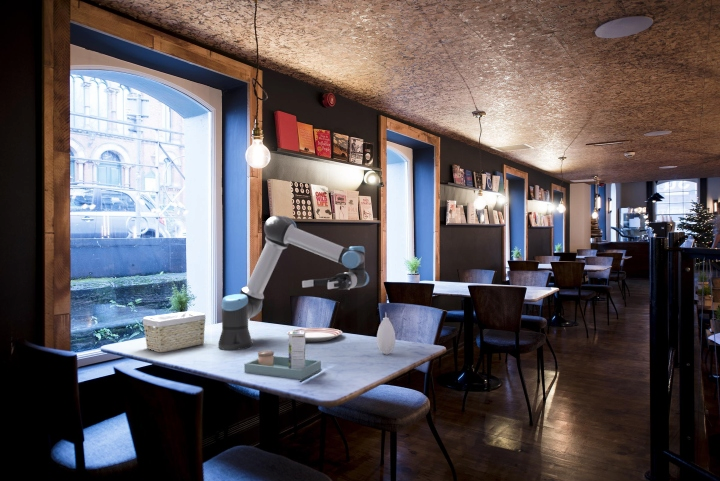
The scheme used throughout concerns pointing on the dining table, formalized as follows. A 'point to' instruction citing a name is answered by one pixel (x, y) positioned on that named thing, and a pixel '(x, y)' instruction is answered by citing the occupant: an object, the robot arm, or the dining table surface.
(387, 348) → the air blower bulb
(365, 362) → the dining table surface
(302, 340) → the syrup box
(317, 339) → the dinner plate
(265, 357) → the jar
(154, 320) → the storage basket
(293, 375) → the tray
